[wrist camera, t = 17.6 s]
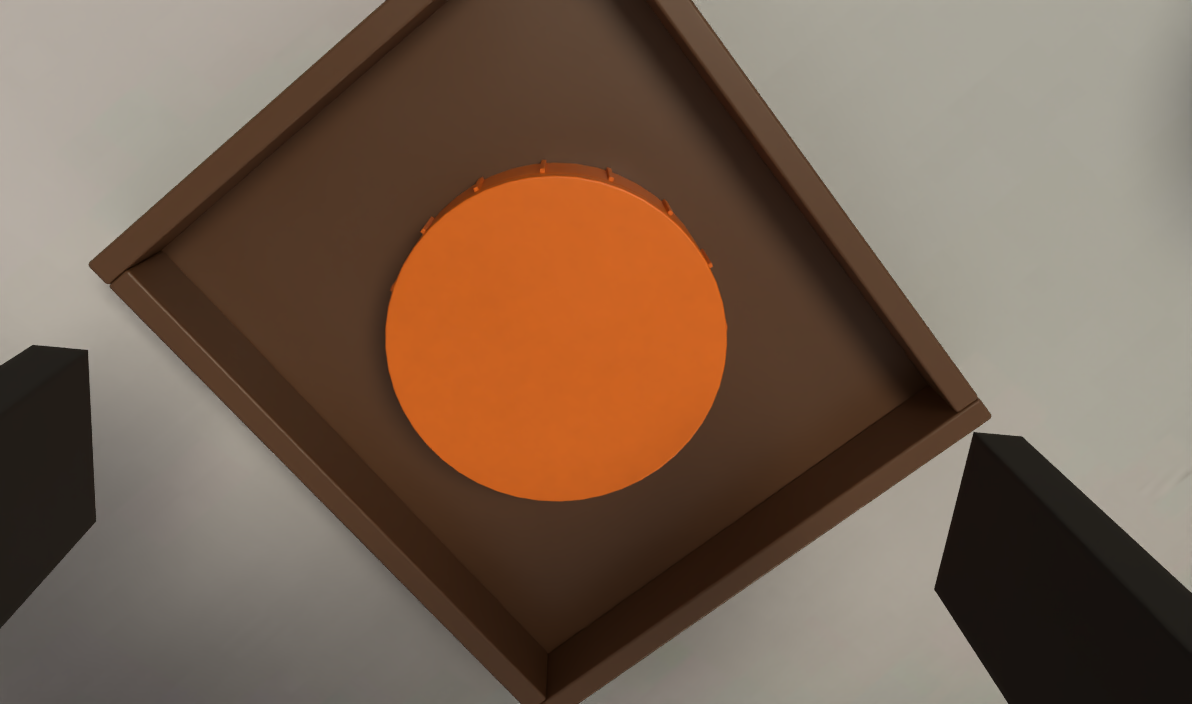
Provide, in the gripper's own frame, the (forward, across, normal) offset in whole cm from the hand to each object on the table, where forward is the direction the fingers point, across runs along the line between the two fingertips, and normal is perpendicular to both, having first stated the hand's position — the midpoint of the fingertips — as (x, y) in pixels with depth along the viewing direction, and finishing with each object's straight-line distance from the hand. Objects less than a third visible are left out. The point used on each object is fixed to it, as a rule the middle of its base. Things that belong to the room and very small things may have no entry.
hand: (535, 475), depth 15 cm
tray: (+10, 0, 0) cm, 10 cm away
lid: (+8, 0, 0) cm, 8 cm away
